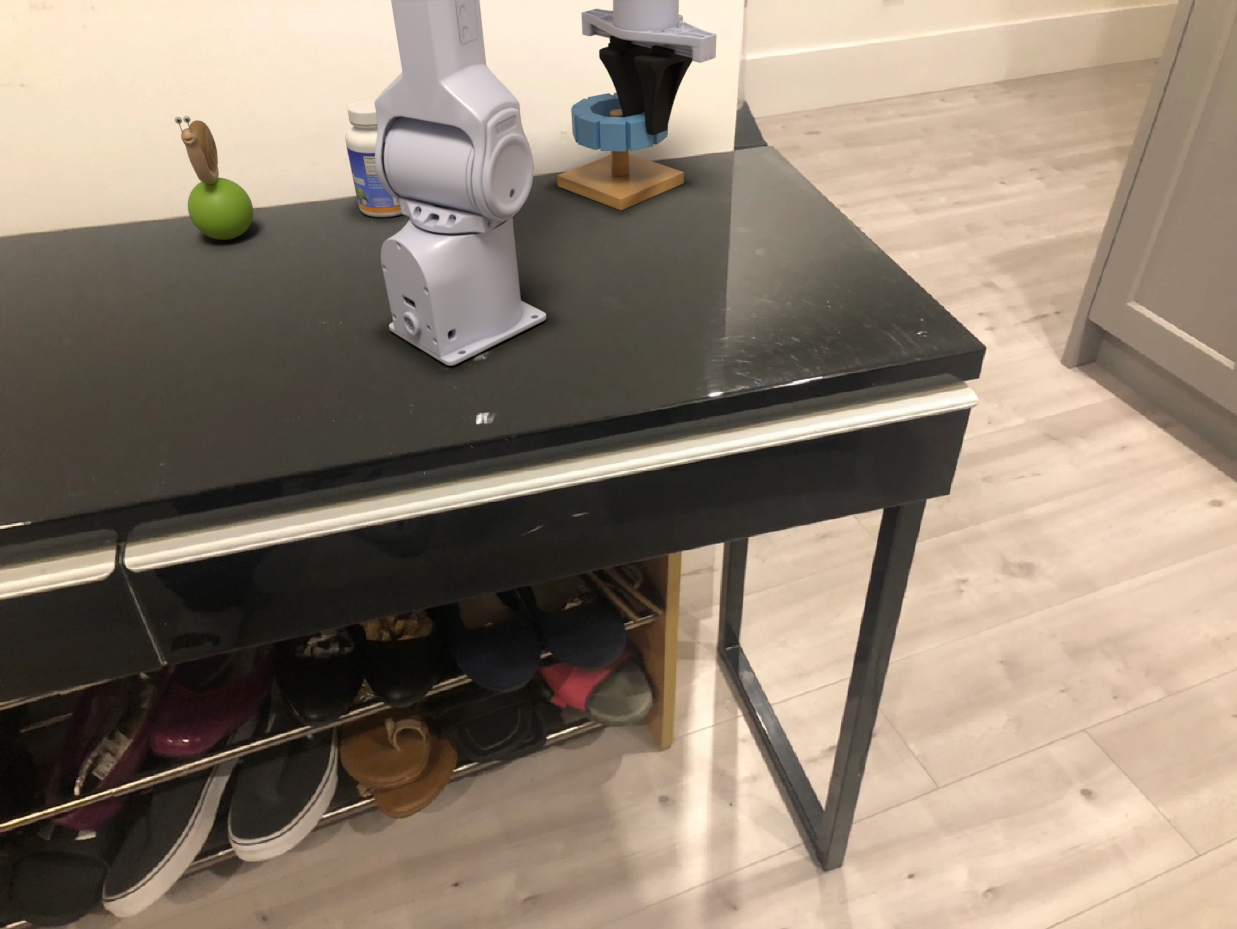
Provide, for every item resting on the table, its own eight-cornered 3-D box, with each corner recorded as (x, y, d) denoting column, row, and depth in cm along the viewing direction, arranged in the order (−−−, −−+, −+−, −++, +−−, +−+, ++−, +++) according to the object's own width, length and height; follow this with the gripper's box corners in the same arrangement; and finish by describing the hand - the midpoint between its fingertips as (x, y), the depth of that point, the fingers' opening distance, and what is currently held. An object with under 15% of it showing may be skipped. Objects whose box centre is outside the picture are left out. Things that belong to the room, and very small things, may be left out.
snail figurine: (192, 257, 81) (145, 120, 74) (203, 228, 86) (160, 96, 79) (256, 250, 82) (215, 114, 74) (262, 221, 87) (225, 91, 79)
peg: (621, 210, 87) (619, 134, 82) (557, 186, 92) (552, 113, 87) (684, 183, 92) (685, 110, 87) (620, 161, 97) (618, 91, 92)
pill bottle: (357, 200, 90) (335, 99, 84) (412, 193, 91) (395, 92, 85) (362, 222, 86) (340, 117, 80) (419, 214, 87) (402, 110, 81)
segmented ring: (621, 159, 84) (621, 130, 82) (553, 136, 89) (551, 108, 87) (686, 133, 88) (687, 105, 87) (618, 112, 94) (617, 86, 92)
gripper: (742, -31, 75) (734, 134, 84) (618, -51, 83) (621, 102, 92) (685, -17, 72) (682, 155, 80) (561, -39, 80) (570, 119, 88)
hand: (646, 128), depth 86 cm, fingers closed on segmented ring, 2 cm apart
